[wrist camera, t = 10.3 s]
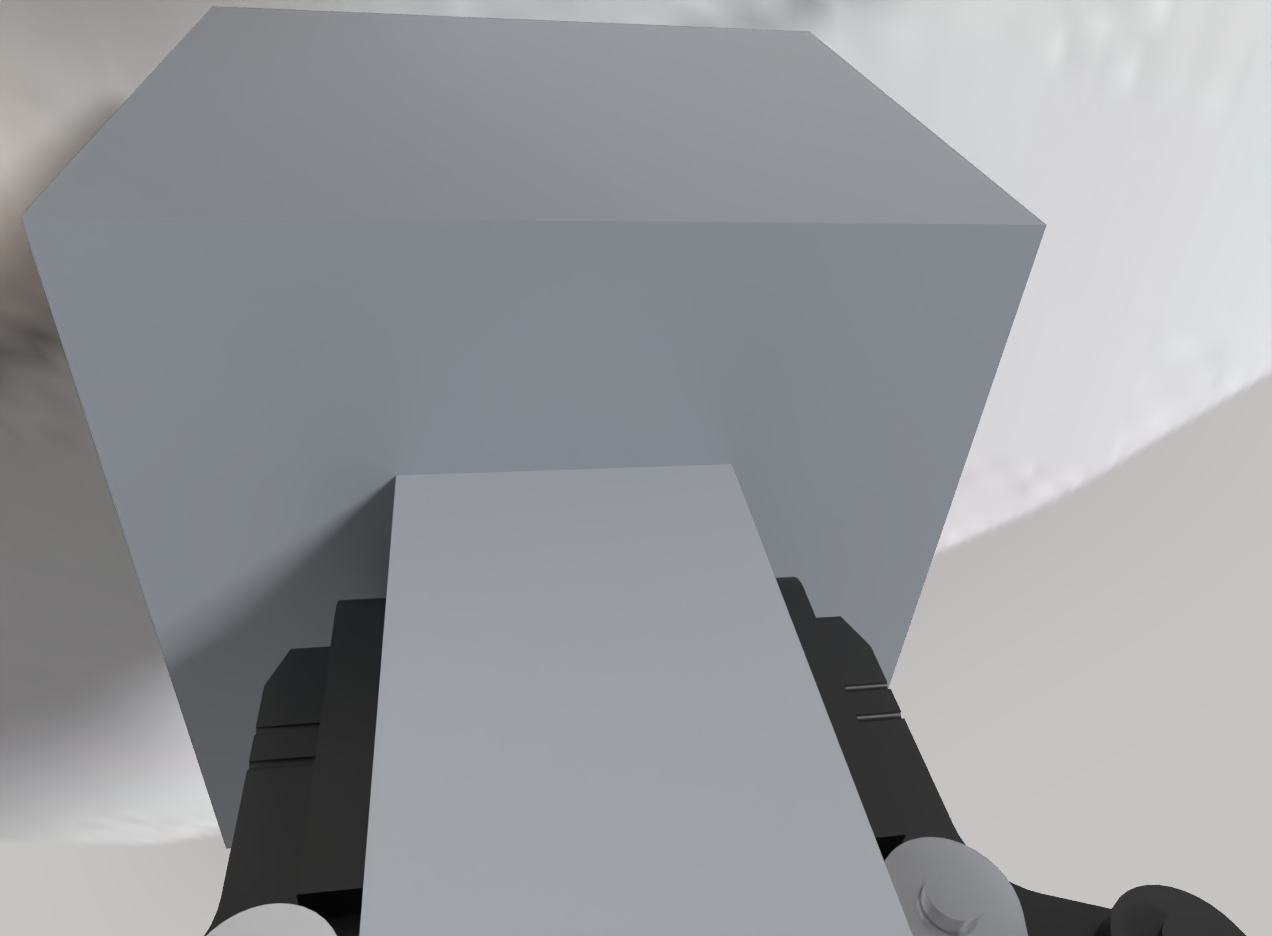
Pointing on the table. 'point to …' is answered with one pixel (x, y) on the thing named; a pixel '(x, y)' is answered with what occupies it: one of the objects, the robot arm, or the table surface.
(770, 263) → the grey stepped block
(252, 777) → the robot arm
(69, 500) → the table surface
